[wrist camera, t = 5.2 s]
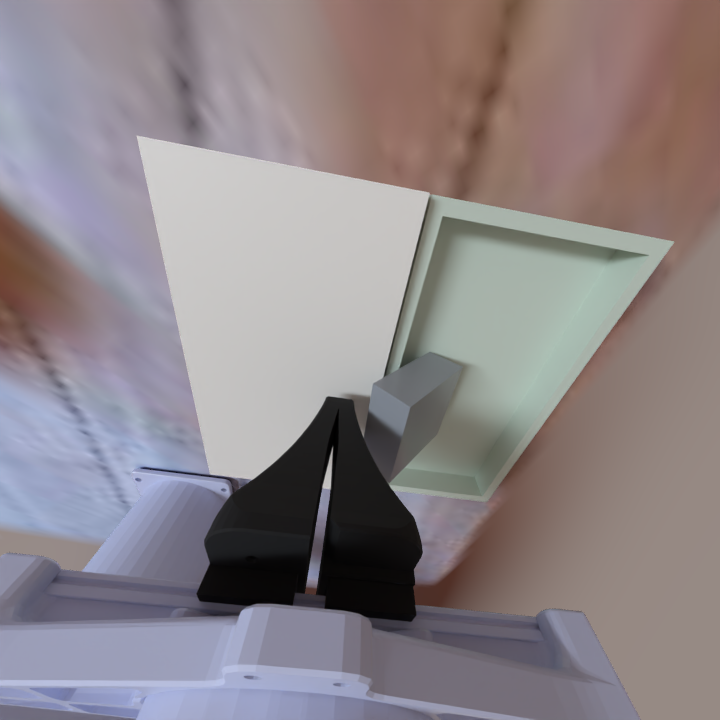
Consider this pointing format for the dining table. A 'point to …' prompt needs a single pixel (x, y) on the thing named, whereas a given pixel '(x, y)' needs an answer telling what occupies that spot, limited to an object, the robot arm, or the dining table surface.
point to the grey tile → (408, 411)
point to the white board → (277, 291)
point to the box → (507, 328)
